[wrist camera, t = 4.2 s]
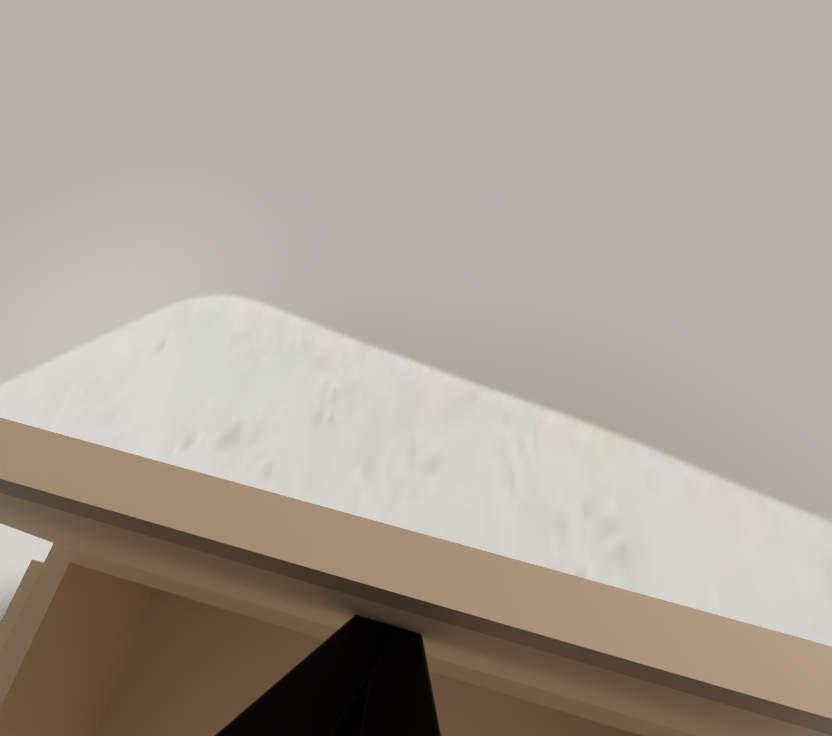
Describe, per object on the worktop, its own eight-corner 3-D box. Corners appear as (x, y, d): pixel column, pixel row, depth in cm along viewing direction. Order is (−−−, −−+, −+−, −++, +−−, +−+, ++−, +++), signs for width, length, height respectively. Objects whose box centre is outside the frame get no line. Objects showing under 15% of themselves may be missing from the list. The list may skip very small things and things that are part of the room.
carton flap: (1892, 1024, 3) (1840, 924, 4) (-583, 310, 6) (-536, 269, 6) (801, 768, 13) (801, 745, 13) (61, 546, 15) (70, 528, 16)
